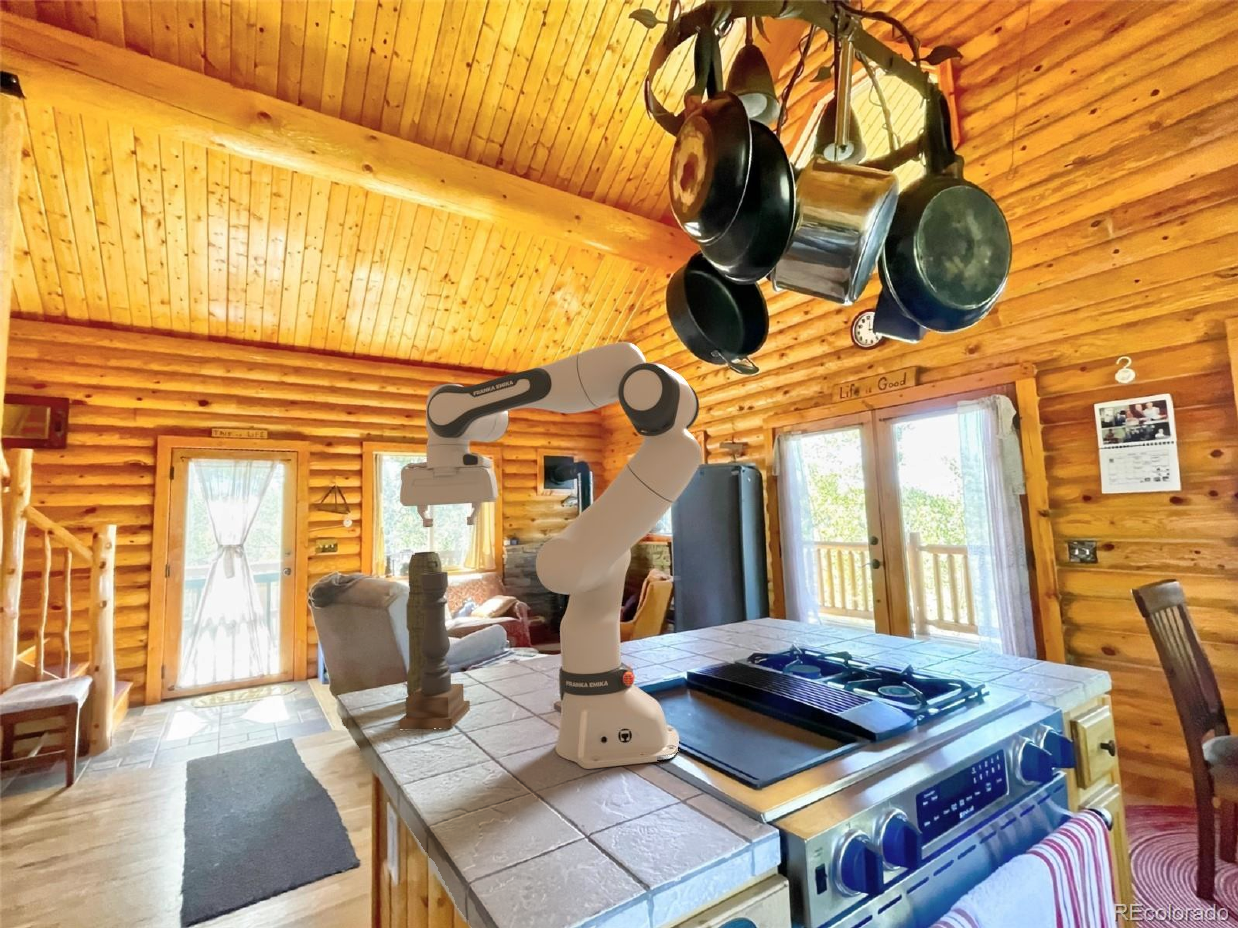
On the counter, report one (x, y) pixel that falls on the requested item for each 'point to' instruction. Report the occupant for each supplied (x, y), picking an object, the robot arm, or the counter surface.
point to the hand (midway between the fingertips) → (449, 526)
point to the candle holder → (435, 635)
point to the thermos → (418, 614)
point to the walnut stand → (434, 709)
